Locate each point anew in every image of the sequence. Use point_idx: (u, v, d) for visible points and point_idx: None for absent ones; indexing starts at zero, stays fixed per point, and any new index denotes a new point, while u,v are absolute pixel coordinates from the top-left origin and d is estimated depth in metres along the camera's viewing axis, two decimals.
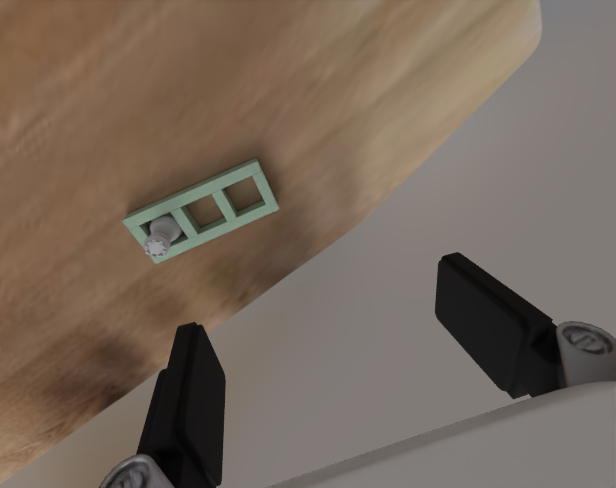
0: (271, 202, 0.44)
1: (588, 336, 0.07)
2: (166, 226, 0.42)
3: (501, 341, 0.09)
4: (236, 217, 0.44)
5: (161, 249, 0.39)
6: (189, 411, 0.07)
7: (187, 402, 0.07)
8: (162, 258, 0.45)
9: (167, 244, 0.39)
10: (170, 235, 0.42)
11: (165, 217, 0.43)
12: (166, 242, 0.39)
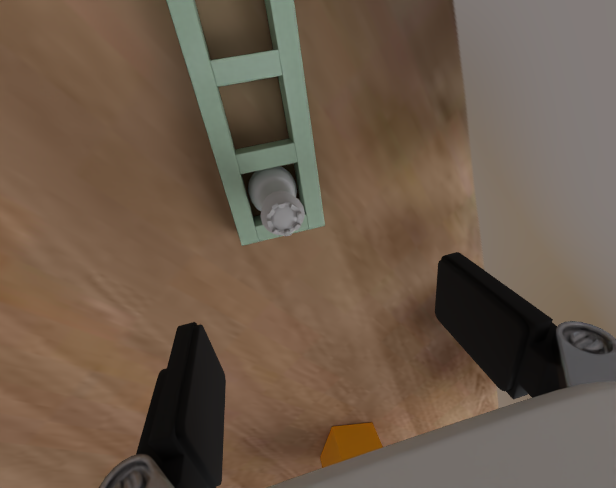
0: None
1: (588, 336, 0.07)
2: (264, 188, 0.24)
3: (501, 341, 0.09)
4: (278, 50, 0.21)
5: (288, 210, 0.21)
6: (189, 411, 0.07)
7: (187, 402, 0.07)
8: (319, 213, 0.27)
9: (283, 197, 0.21)
10: (279, 187, 0.23)
11: (252, 185, 0.25)
12: (278, 197, 0.21)
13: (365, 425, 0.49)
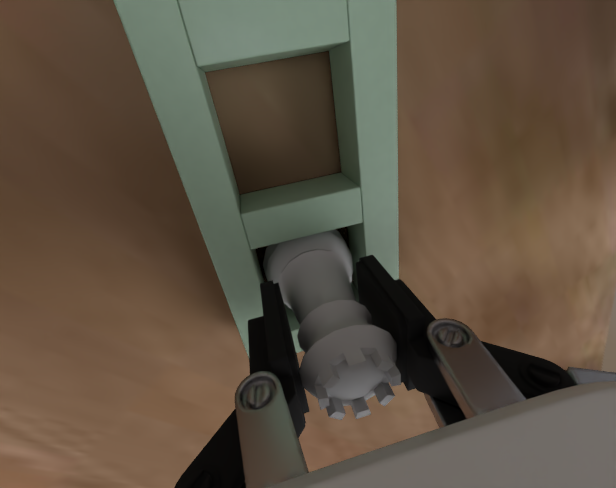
0: None
1: (449, 330, 0.08)
2: (297, 277, 0.12)
3: None
4: None
5: (368, 365, 0.08)
6: None
7: (289, 335, 0.09)
8: None
9: (356, 335, 0.08)
10: (330, 280, 0.11)
11: (272, 263, 0.13)
12: (346, 336, 0.08)
13: None
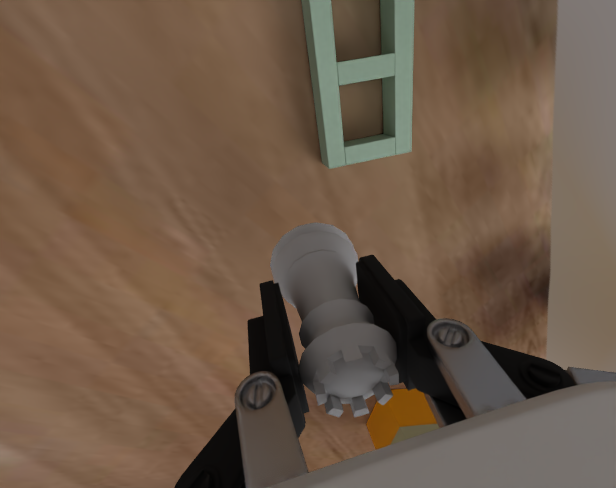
0: None
1: (449, 330, 0.08)
2: (302, 276, 0.12)
3: (392, 337, 0.09)
4: None
5: (366, 363, 0.09)
6: None
7: (289, 335, 0.09)
8: (407, 137, 0.26)
9: (354, 333, 0.09)
10: (334, 280, 0.11)
11: (278, 263, 0.13)
12: (344, 333, 0.09)
13: (415, 390, 0.48)
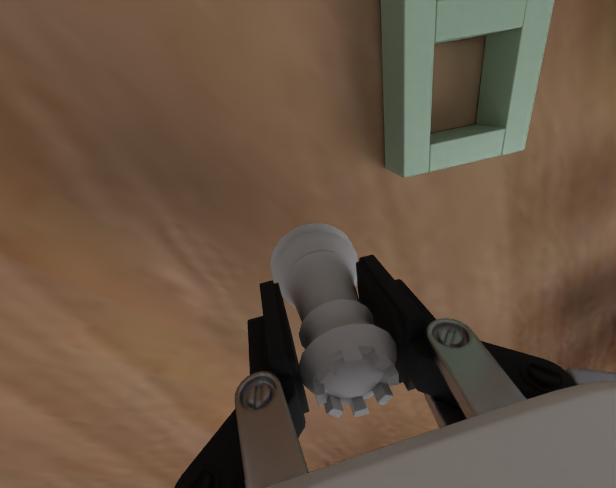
0: None
1: (449, 330, 0.08)
2: (301, 276, 0.12)
3: (392, 337, 0.09)
4: None
5: (366, 363, 0.09)
6: None
7: (289, 335, 0.09)
8: (523, 128, 0.17)
9: (354, 333, 0.09)
10: (334, 280, 0.11)
11: (278, 263, 0.13)
12: (344, 334, 0.09)
13: None
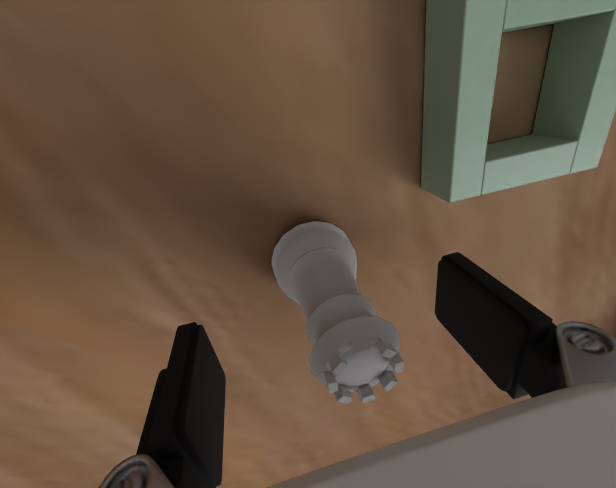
0: None
1: (588, 336, 0.07)
2: (305, 273, 0.13)
3: (501, 341, 0.09)
4: None
5: (373, 353, 0.09)
6: (189, 411, 0.07)
7: (187, 402, 0.07)
8: (599, 140, 0.14)
9: (362, 325, 0.09)
10: (337, 276, 0.12)
11: (280, 260, 0.14)
12: (353, 326, 0.09)
13: None
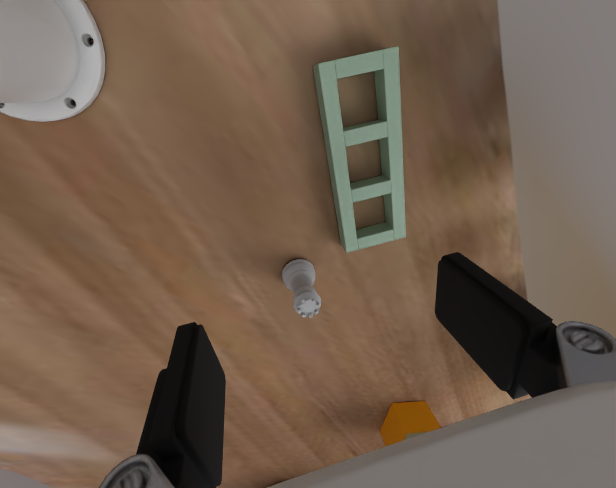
0: (384, 58, 0.28)
1: (588, 336, 0.07)
2: (293, 279, 0.36)
3: (501, 341, 0.09)
4: (386, 121, 0.31)
5: (311, 302, 0.33)
6: (189, 411, 0.07)
7: (187, 402, 0.07)
8: (402, 228, 0.37)
9: (307, 294, 0.33)
10: (304, 280, 0.36)
11: (285, 275, 0.38)
12: (305, 294, 0.33)
13: (419, 403, 0.58)
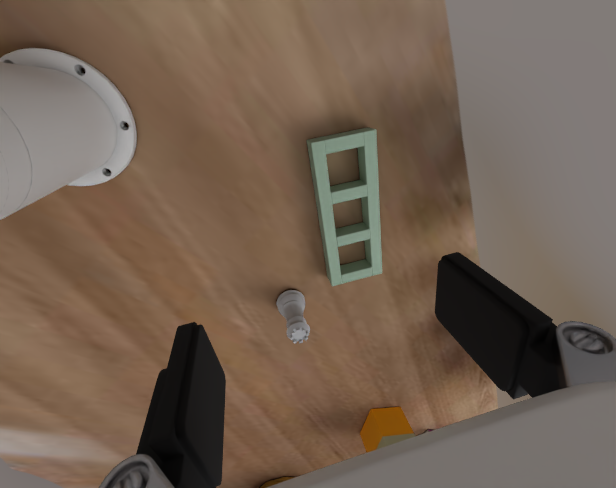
0: (364, 138, 0.35)
1: (588, 336, 0.07)
2: (287, 309, 0.43)
3: (501, 341, 0.09)
4: (366, 185, 0.37)
5: (301, 331, 0.39)
6: (189, 411, 0.07)
7: (187, 402, 0.07)
8: (379, 266, 0.44)
9: (298, 324, 0.39)
10: (295, 310, 0.42)
11: (279, 304, 0.44)
12: (296, 324, 0.39)
13: (395, 408, 0.66)
